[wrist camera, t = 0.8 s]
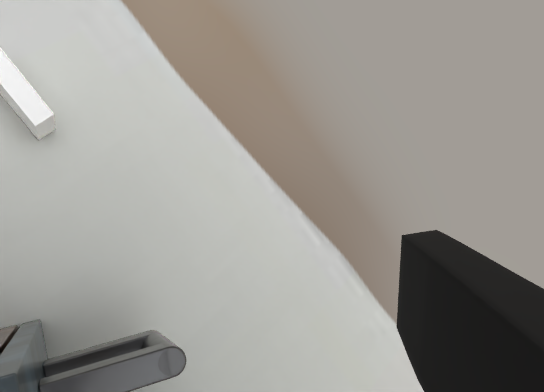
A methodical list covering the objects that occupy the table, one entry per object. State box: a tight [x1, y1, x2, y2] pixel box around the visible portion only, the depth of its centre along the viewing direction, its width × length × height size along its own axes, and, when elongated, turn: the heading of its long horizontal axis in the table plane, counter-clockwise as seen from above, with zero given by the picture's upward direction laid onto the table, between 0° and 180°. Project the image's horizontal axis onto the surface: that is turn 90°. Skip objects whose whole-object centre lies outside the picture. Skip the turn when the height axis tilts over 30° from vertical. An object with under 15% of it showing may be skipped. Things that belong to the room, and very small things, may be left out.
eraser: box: [0, 48, 56, 140], centre depth 30 cm, size 1×5×4 cm, turn 41°
